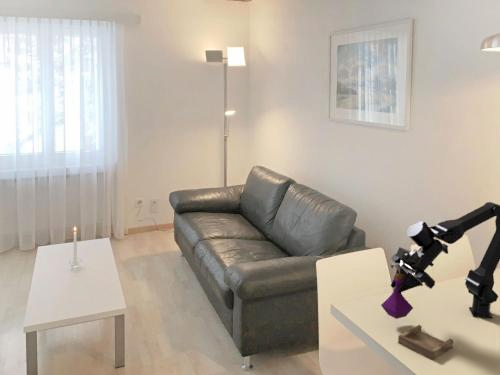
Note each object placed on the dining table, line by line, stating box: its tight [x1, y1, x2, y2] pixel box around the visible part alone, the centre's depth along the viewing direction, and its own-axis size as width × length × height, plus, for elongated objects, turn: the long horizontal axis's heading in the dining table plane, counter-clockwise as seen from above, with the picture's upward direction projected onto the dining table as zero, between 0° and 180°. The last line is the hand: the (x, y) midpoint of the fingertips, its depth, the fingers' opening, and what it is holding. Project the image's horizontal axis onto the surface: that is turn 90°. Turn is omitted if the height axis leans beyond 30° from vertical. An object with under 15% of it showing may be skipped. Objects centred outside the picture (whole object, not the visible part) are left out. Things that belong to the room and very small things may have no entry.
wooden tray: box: [397, 324, 454, 361], centre depth 152 cm, size 11×12×2 cm
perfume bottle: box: [380, 262, 414, 320], centre depth 163 cm, size 8×8×18 cm
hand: (394, 289), depth 161 cm, fingers closed on perfume bottle, 4 cm apart
